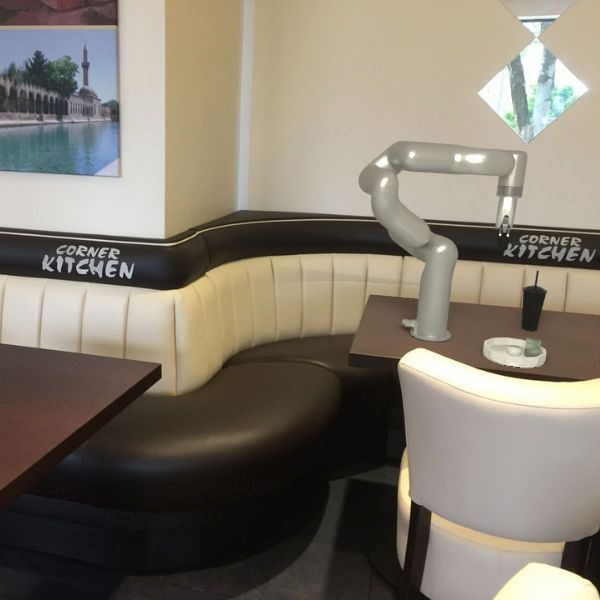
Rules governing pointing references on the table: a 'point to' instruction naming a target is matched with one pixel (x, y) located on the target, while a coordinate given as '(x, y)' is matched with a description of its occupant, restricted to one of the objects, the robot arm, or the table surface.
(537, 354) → the bead
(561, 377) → the table surface
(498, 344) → the ring tray
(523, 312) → the drinking cup
